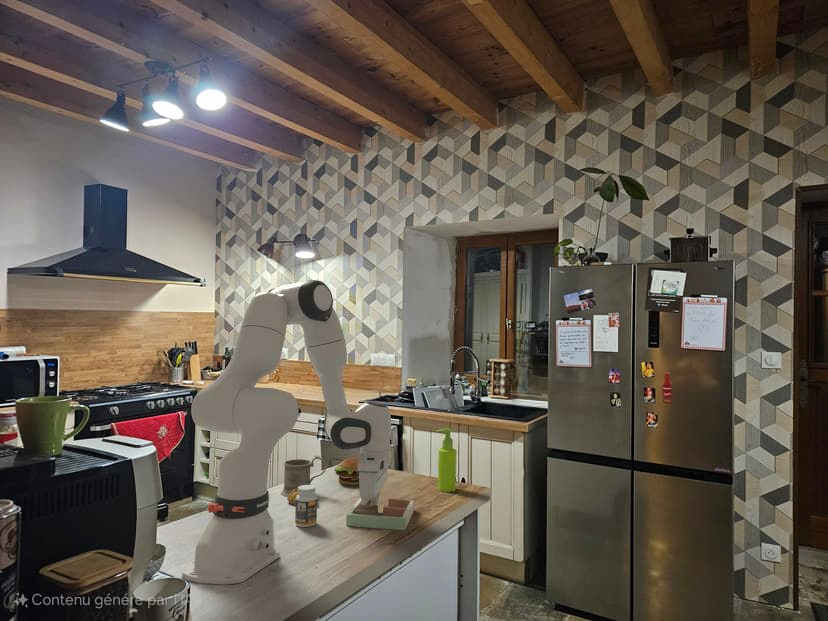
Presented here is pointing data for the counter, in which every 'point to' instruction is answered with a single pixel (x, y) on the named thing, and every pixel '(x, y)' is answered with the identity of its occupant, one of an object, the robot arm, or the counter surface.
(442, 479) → the soap dispenser
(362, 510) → the block
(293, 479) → the mug
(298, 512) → the pill bottle
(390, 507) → the box
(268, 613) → the counter surface
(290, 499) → the pastry
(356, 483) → the food
